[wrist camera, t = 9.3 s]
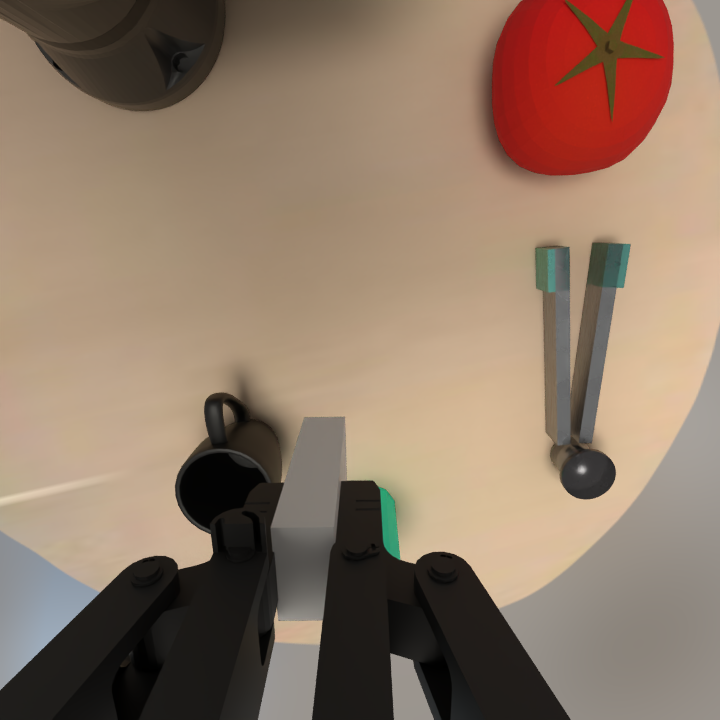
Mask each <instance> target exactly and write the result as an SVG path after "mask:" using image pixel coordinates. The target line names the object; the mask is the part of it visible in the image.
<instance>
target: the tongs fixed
mask: <svg viewBox="0 0 720 720" xmlns="http://www.w3.org/2000/svg"><path fill="white" fill-rule="evenodd" d="M630 246H631V244H618V243H592V250H591V257H590V264H589V271H588V278H587V285H586V292H585V299H584V306H583V313H582V320H581V327H580V334H579V341H578V348H577V355H576V362H575V369H574V376H573V383H572V390H571V397H570V435H571V436H572V437H570V441H571V444H569V445H559V446H557V445H556V443H555V444H554V445H553V447H552V449H551V453H550V457H551V460H552V462H553V464H554V465H555V466H556V467H557V469H558V470H559V471H560V480H561V483H562V485H563V487H564V488H565V489H566V491H567V492H568V493H569V494H571V495H572V496H574V497H576V498H579V499H593V498H596V497H599V496H601V495H603V494H604V493H605V492H607V491H608V490H609V489H610V487H611V486H612V484H613V482H614V480H615V476H616V470H615V466H614V464H613V462H612V461H611V459H610V458H609V457H608V456H606V455H605V454H604V453H603V452H601V451H598V450H595V449H590V448H589V447H588V446H587V445H586V444H585V443H592V438H593V432H594V426H595V419H596V413H597V407H598V400H599V394H600V388H601V382H602V375H603V369H604V363H605V357H606V350H607V344H608V338H609V332H610V325H611V319H612V313H613V306H614V300H615V294H616V288H624V282H625V276H626V270H627V264H628V258H629V252H630Z"/></svg>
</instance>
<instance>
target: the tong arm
mask: <svg viewBox="0 0 720 720" xmlns="http://www.w3.org/2000/svg"><path fill="white" fill-rule="evenodd" d="M535 249H536V288H537V289H540V290H542V291H543V311H544V362H545V413H546V433H547V434H548V436H549V437H550V438H551V439H552V440H553V441H554V442H555V443H556V445H557V446H559V445H569V444H571V441H570V254H569V247H563V246H551V247H542V248H535Z"/></svg>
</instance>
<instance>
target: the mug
mask: <svg viewBox="0 0 720 720" xmlns="http://www.w3.org/2000/svg"><path fill="white" fill-rule="evenodd" d="M223 403H224V404H226V405H227V406H228V407H229V408H230V409H231V410H232V411H233V414H234V417H235V423H233V424H231V425H228V426H226V427H225V425H224V419H223ZM204 414H205V422H206V427H207V431H208V435H209V437H208V438H206V439H205V440H204V441H203V442H202V443H201V444H200V445H199V446H198V447H197V448H196V449H195V450H194V452H193V453H192V454H191V455H190V457H189V458H188V459H187V460H186V462H185V463H184V464H183V465H182V467H181V469H180V471H179V473H178V475H177V479H176V484H175V493H176V499H177V502H178V506H179V507H180V509H181V511H182V513H183V514H184V516H185V517H186V518H187V519H188V520H189V521H190V522H191V523H192V524H193V525H195V526H196V527H197V528H199V529H201V530H203V531H205V532H207V533H209V534H211V530H210V523H211V522H212V521H213V519H214V518H215V517H217V516H218V515H220V514H221V513H223V512H226V511H229V510H232V509H237V508H243V507H244V505H245V502H246V500H247V497H248V495H249V492H250V491H251V490H253V489H254V488H255V487H256V486H257V485H258V484H259V483H281V476H282V459H281V453H280V449H279V443H278V438H277V436H276V434H275V432H274V431H273V430H272V429H271V427H269V426H268V425H267V424H265V423H263V422H261V421H259V420H255V419H250V414H249V410H248V408H247V407H246V405H245V404H243V403H242V402H241V401H240V400H238V399H237V398H235V397H234V396H232V395H230V394H228V393H215V394H212V395H210V396H209V397H208V398H207V399H206V401H205V406H204Z"/></svg>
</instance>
